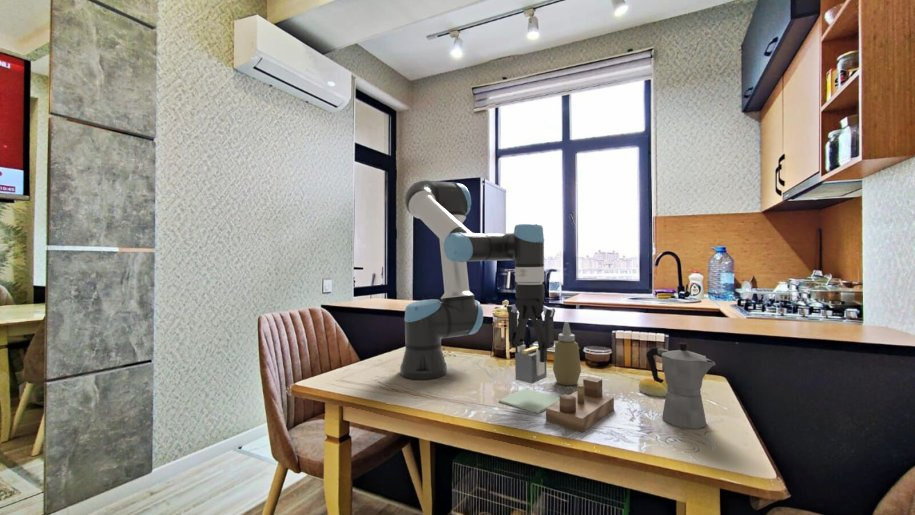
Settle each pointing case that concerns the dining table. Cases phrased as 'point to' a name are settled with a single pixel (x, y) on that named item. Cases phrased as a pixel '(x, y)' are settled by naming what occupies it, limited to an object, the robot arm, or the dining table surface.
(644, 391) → the bread roll
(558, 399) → the mat
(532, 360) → the lever cap
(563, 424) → the wooden peg board
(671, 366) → the coffeepot
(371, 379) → the dining table surface
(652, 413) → the dining table surface
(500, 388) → the dining table surface
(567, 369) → the squeeze bottle
